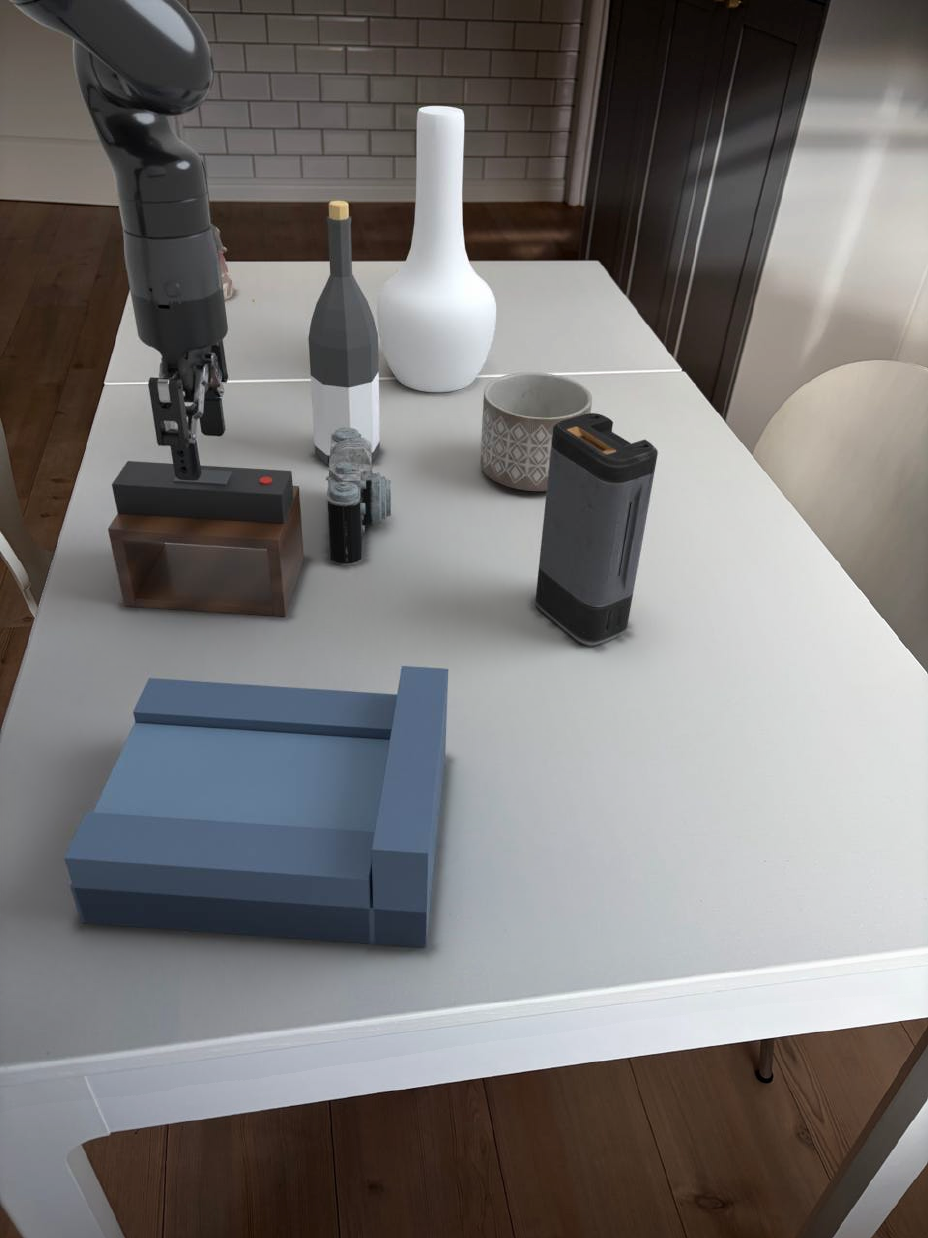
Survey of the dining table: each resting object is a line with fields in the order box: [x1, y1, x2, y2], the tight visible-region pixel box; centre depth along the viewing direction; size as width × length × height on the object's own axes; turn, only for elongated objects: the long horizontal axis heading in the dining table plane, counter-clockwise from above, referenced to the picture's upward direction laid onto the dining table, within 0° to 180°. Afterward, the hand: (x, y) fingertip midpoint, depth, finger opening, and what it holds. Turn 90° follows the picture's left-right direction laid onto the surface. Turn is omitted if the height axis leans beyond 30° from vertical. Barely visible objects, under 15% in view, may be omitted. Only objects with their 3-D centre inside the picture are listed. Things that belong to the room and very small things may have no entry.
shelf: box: [107, 485, 305, 617], centre depth 98 cm, size 16×10×9 cm, turn 87°
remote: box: [111, 460, 294, 524], centre depth 95 cm, size 16×5×3 cm, turn 87°
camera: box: [325, 428, 392, 566], centre depth 107 cm, size 15×7×10 cm, turn 4°
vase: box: [376, 105, 497, 393], centre depth 133 cm, size 17×17×35 cm
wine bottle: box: [307, 200, 381, 467], centre depth 115 cm, size 8×8×30 cm
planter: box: [479, 371, 593, 492], centre depth 119 cm, size 13×13×10 cm
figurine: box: [212, 224, 234, 301], centre depth 163 cm, size 7×7×12 cm
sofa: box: [63, 665, 449, 948], centre depth 72 cm, size 24×18×10 cm
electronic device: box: [534, 412, 659, 647], centre depth 93 cm, size 9×6×20 cm, turn 34°
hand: (201, 455), depth 92 cm, fingers open, 8 cm apart
